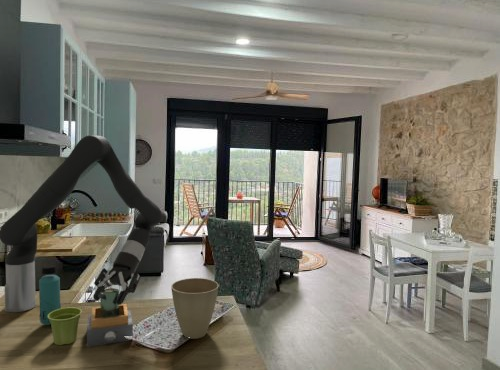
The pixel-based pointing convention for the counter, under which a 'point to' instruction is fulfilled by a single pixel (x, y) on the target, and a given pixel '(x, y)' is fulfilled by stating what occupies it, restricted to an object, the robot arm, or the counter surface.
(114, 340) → the gearbox
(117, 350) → the counter surface
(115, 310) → the spout can
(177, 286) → the plant pot
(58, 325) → the plant pot
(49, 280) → the beverage bottle
